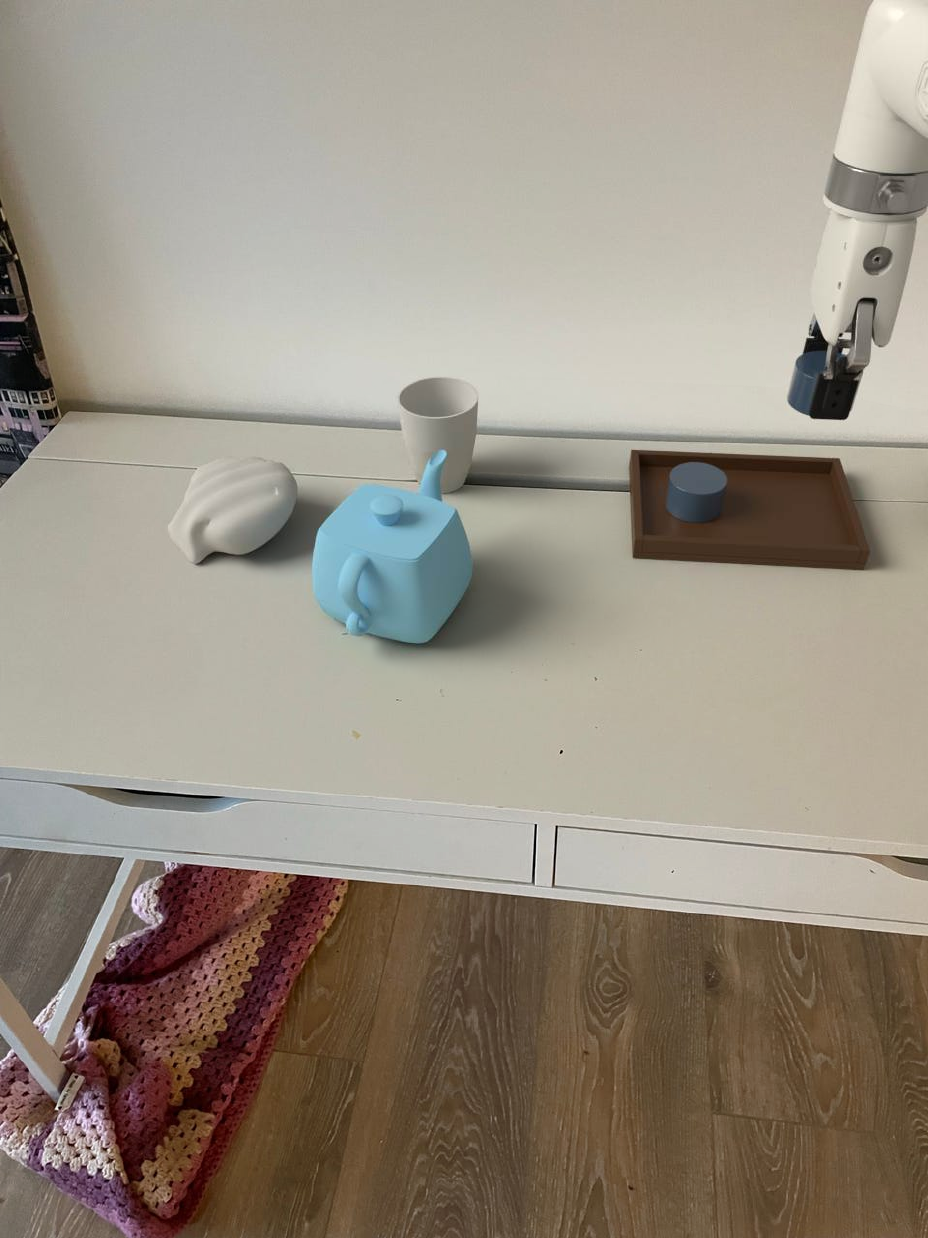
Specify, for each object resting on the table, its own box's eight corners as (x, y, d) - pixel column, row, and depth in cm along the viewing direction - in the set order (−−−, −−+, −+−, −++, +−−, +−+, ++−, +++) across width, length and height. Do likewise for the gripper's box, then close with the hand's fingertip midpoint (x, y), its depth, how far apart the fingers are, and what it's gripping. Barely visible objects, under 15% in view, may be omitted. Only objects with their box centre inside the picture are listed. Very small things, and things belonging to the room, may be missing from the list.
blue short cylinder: (728, 499, 96) (734, 470, 93) (712, 529, 92) (717, 499, 90) (675, 485, 98) (680, 456, 95) (657, 513, 94) (661, 484, 92)
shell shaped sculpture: (307, 491, 100) (298, 438, 95) (298, 567, 90) (289, 512, 86) (183, 497, 99) (169, 444, 95) (162, 574, 90) (146, 520, 85)
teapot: (503, 556, 91) (504, 456, 83) (417, 680, 79) (409, 576, 71) (391, 525, 95) (382, 426, 87) (293, 638, 83) (273, 535, 75)
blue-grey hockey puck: (858, 394, 84) (869, 358, 81) (845, 424, 80) (856, 387, 78) (795, 380, 86) (804, 345, 83) (779, 409, 82) (788, 373, 80)
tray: (834, 476, 100) (839, 457, 98) (864, 570, 88) (870, 551, 87) (629, 467, 102) (631, 449, 100) (632, 558, 90) (634, 539, 89)
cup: (489, 465, 102) (488, 383, 96) (464, 508, 97) (462, 423, 90) (419, 453, 104) (414, 371, 98) (392, 494, 99) (384, 410, 92)
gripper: (963, 228, 64) (886, 454, 76) (904, 148, 76) (846, 353, 89) (850, 226, 64) (791, 450, 77) (809, 147, 77) (764, 351, 89)
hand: (821, 396), depth 83 cm, fingers closed on blue-grey hockey puck, 5 cm apart
